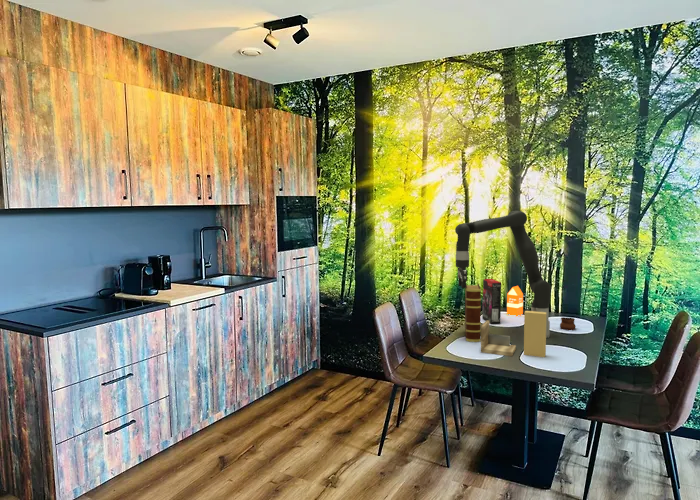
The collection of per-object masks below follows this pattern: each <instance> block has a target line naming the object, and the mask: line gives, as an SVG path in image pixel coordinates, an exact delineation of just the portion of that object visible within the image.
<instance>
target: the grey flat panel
mask: <svg viewBox="0 0 700 500" xmlns="http://www.w3.org/2000/svg"><path fill="white" fill-rule="evenodd" d="M488 344H494V345H503V346H510V345H511V336H510V335H503V334H494V333H493V334H492V333H489V334H488Z"/></svg>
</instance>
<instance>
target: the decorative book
mask: <svg viewBox="0 0 700 500" xmlns="http://www.w3.org/2000/svg"><path fill="white" fill-rule="evenodd" d="M464 290H465V291H464V293H465V295H464V301H465V302H464V304H465V305H464V309H465V311H464V312H465V313H464V331H465V332H464V333H465V341H466V342H470V343H481V325H482V323H481V315H482V314H481V312H482V311H481V309H482V305H481V301H482V298H481V294H482V288H481V286H480V284H479V283H477V284H476V285H475V284H474V285H472V284H471V285H470V284H469V285H468V284H466V288H464Z"/></svg>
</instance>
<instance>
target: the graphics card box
mask: <svg viewBox="0 0 700 500" xmlns="http://www.w3.org/2000/svg"><path fill="white" fill-rule="evenodd" d="M482 285H483V286H482V314H481V315H482V316H481V317H482V319H483V320H485V321H486V320H488V321H489V324H491V325H492V324H493V325H494V324H495V325H496V324H499V325H500V324H501V318H502V317H501V315H502V314H501V311H502V309H501V308H502V281H498V280H497V279H493V278H484V279H483V280H482Z"/></svg>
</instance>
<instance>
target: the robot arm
mask: <svg viewBox="0 0 700 500" xmlns="http://www.w3.org/2000/svg"><path fill="white" fill-rule="evenodd" d="M527 221H528V216H527V214H526V213H525V212H524V211H522V210H512V211H510V212H508V214H506V215H503V216H499V217H492V218H485V219H484V218H483V219H479V220H476V221H471V222H465V223H459V224H457V225H456V226H455V229H454V230H455V231H454V232H455V234H456V235H457V241H456V243H455V267H456V268H457V279H458V286H461V288H462V289H465V288H466V285H467V281H468V270H467V269H466V268H470V253H469V252H470V251H469V248H470V244H469V242H470V235H471V234H480V233H486V232H489V231H493V230H498V229H502V228H504V229H505V228H510V231H511V233H512V235H513V237H514V240H515V244H516V247H517V250H518V251H517V252H518V254H519V257H520V260H521V263H522V266H523V268H524V270H525V272H526V275H527V279H528V285H529V289H530V291H531V292H532V293H533V301H531V310H530V311H535V312H547V315H546V339H549V338H550V331H551V329H550V326H551V324H550V323H551V322H550V320H549V310H550V302H551V291H552V290H551V289H552V288H551V284H550V283H549V282H548V281H547V280H545V279H544V278H543V276H542V274H541V272H540V266H539V256H538V255H539V254H538V252H537V248H536V246H535V244H534V242H533V241H532V239H531V237H530V236H529V235H528V233H527V230H526V227H525V224H526V223H527Z"/></svg>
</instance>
